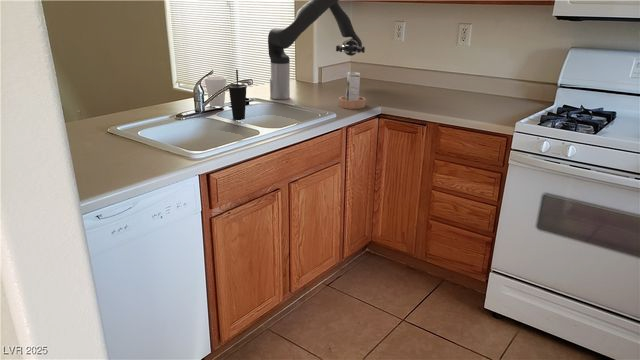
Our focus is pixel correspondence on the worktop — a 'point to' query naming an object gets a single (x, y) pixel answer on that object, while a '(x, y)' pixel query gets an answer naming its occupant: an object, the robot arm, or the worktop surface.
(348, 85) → the syrup box
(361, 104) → the terracotta bowl
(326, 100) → the worktop surface
